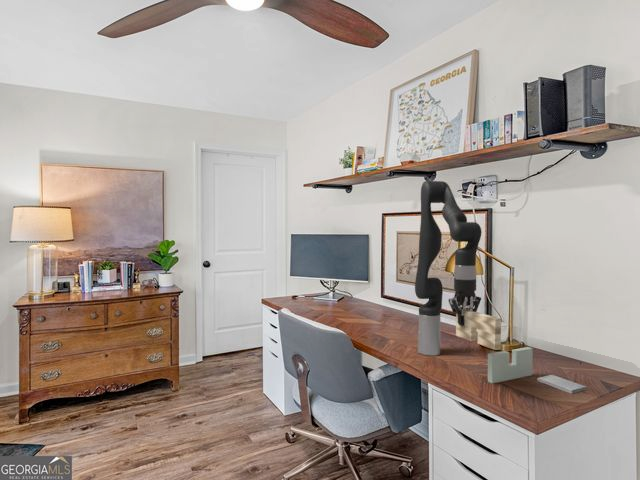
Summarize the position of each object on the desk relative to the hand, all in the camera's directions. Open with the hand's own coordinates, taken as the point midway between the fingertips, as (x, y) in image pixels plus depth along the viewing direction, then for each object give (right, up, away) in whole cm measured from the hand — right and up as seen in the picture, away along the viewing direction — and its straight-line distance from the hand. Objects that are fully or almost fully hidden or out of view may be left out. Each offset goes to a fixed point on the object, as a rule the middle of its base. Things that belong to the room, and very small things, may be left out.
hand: (464, 324), depth 142 cm
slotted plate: (+17, -20, +1) cm, 26 cm away
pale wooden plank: (+2, -5, -5) cm, 8 cm away
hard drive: (+32, -21, -5) cm, 38 cm away
